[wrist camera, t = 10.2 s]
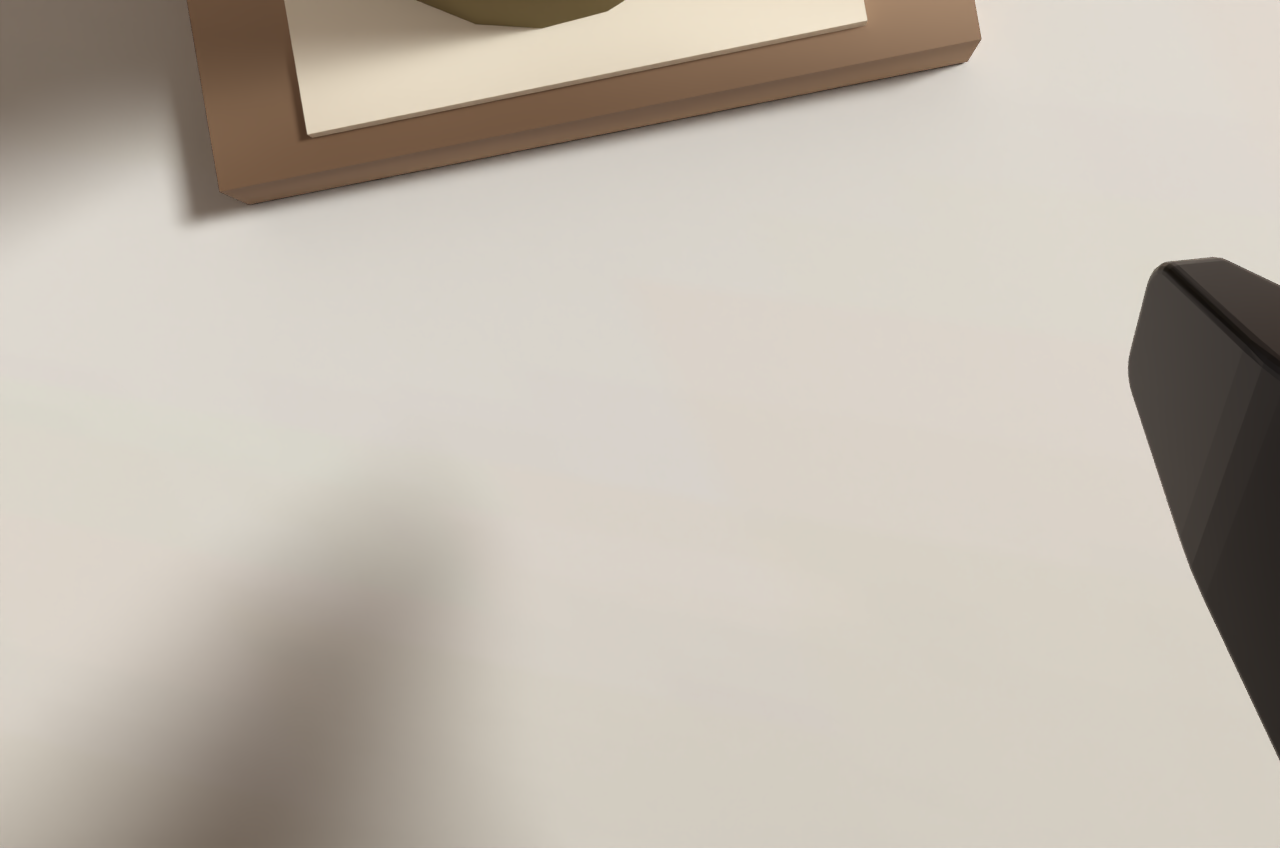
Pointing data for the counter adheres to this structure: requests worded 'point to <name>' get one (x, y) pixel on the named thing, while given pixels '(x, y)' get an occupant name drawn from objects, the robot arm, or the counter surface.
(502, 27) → the pin board
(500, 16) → the cork
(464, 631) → the counter surface
